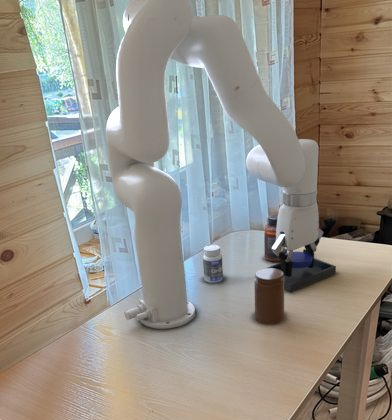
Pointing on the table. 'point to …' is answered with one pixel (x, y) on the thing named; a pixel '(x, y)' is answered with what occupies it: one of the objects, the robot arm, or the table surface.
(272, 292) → the jar
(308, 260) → the jar lid
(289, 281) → the tray
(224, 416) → the table surface
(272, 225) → the supplement bottle
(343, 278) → the table surface
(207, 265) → the pill bottle
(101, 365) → the table surface
